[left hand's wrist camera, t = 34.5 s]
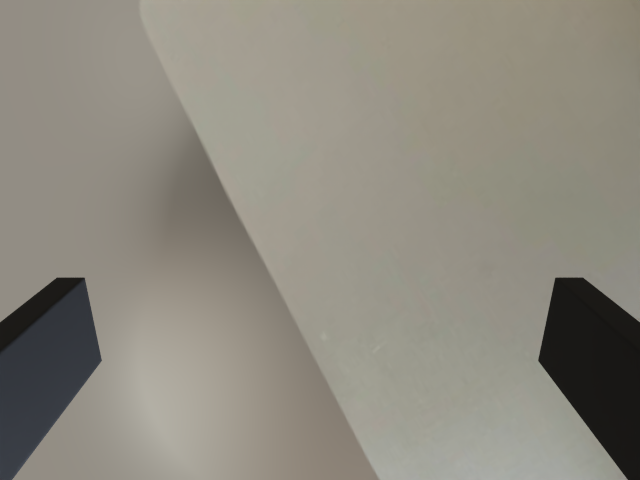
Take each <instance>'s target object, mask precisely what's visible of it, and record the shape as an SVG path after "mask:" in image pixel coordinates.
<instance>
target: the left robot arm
mask: <svg viewBox="0 0 640 480" xmlns="http://www.w3.org/2000/svg"><path fill="white" fill-rule="evenodd" d="M101 361H102V360H101V355H100V350H99V345H98V340H97V336H96V331H95V326H94V321H93V316H92V311H91V307H90V302H89V297H88V292H87V287H86V282H85V278H56V279H55V280H53V281H52V282H51V283H50V284H49V285H47V286H46V287H45V288H43V289H42V290H41V291H40V292H38V293H37V294H36V295H34V296H33V297H32V298H31V299H29V300H28V301H27V302H26V303H24V304H23V305H22V306H21V307H19V308H18V309H17V310H15V311H14V312H13V313H12V314H10V315H9V316H8V317H7V318H5V319H4V320H3V321H1V322H0V480H12V479H13V478H14V476H15V475H16V474H17V472H18V471H19V470H20V469H21V467H22V466H23V464H24V463H25V462H26V460H27V459H28V458H29V456H30V455H31V454H32V453H33V451H34V450H35V449H36V447H37V446H38V445H39V443H40V442H41V441H42V439H43V438H44V437H45V435H46V434H47V433H48V431H49V430H50V429H51V427H52V426H53V425H54V423H55V422H56V421H57V419H58V418H59V417H60V415H61V414H62V413H63V411H64V410H65V409H66V407H67V406H68V405H69V403H70V402H71V401H72V399H73V398H74V397H75V395H76V394H77V393H78V392H79V390H80V389H81V387H82V386H83V385H84V383H85V382H86V381H87V380H88V378H89V377H90V376H91V374H92V373H93V372H94V370H95V369H96V368H97V366H98V365H99V364H100V362H101ZM538 361H539V362H540V364H541V365H542V366H543V368H544V369H545V370H546V372H547V373H548V374H549V376H550V377H551V378H552V380H553V381H554V382H555V384H556V385H557V386H558V388H559V389H560V390H561V392H562V393H563V394H564V395H565V397H566V398H567V399H568V401H569V402H570V403H571V405H572V406H573V407H574V409H575V410H576V411H577V413H578V414H579V415H580V417H581V418H582V419H583V421H584V422H585V423H586V425H587V426H588V427H589V429H590V430H591V431H592V433H593V434H594V435H595V437H596V438H597V439H598V441H599V442H600V443H601V445H602V446H603V447H604V449H605V450H606V451H607V453H608V454H609V455H610V457H611V458H612V459H613V461H614V462H615V463H616V465H617V466H618V467H619V469H620V470H621V471H622V473H623V474H624V475H625V476H626V478H627V479H628V480H640V322H639V321H637V320H636V319H635V318H634V317H632V316H631V315H630V314H628V313H627V312H626V311H625V310H623V309H622V308H621V307H620V306H618V305H617V304H616V303H614V302H613V301H612V300H611V299H609V298H608V297H607V296H606V295H604V294H603V293H602V292H600V291H599V290H598V289H597V288H595V287H594V286H593V285H592V284H590V283H589V282H588V281H587V280H585V279H584V278H555V282H554V287H553V292H552V297H551V302H550V307H549V311H548V316H547V321H546V326H545V331H544V336H543V340H542V345H541V350H540V355H539V360H538Z"/></svg>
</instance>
